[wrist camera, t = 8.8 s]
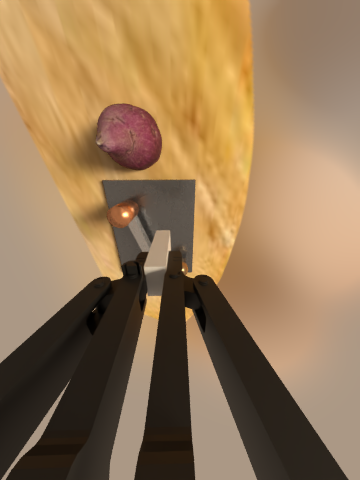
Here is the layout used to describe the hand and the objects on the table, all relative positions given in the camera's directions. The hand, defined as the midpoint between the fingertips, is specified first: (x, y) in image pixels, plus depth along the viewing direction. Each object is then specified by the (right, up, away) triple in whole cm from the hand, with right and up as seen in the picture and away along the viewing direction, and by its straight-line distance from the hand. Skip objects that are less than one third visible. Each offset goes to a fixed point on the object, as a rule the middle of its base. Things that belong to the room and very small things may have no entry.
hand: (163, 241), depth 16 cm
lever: (-6, 0, +19) cm, 20 cm away
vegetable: (-7, +20, +13) cm, 25 cm away
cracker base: (-5, +2, +21) cm, 22 cm away
